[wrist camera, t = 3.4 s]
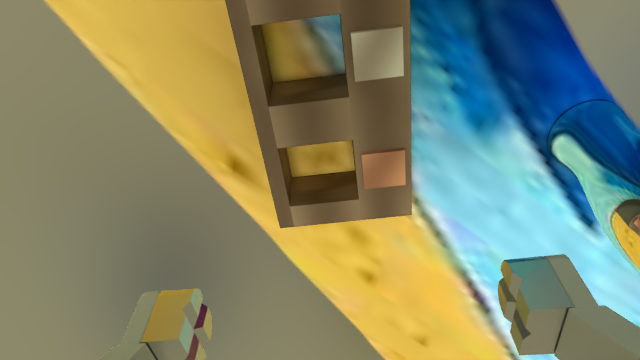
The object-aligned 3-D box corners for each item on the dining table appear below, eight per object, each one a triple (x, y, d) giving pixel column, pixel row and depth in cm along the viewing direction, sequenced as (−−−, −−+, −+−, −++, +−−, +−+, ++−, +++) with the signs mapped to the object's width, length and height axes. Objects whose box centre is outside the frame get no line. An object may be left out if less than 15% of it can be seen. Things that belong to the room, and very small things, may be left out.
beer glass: (526, 130, 37) (631, 265, 24) (610, 76, 34) (775, 198, 22) (562, 180, 40) (671, 323, 28) (642, 135, 37) (802, 270, 25)
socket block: (399, -48, 29) (410, -34, 25) (403, 185, 40) (412, 217, 36) (232, -24, 30) (222, -8, 26) (282, 198, 41) (280, 230, 37)
